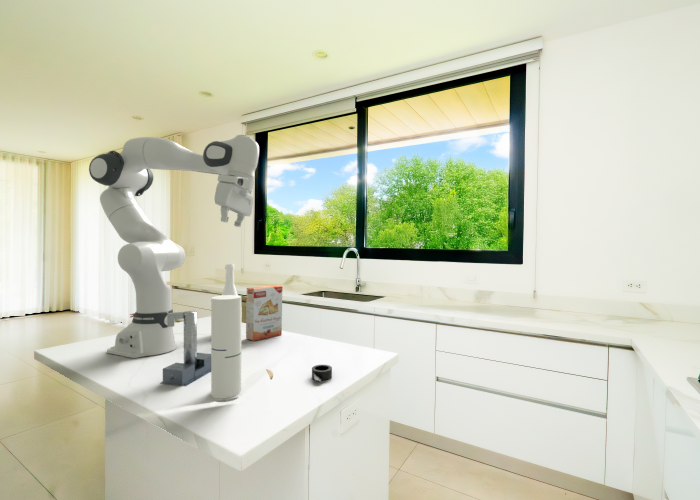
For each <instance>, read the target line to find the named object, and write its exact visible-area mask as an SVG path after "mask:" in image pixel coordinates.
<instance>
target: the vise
mask: <svg viewBox="0 0 700 500" xmlns="http://www.w3.org/2000/svg"><path fill="white" fill-rule="evenodd" d="M209 373H211V353H206V352H205V353H204V352H203V353H202V352H197V369H195V364H185V363H184V362H175V363H172V364H170V365H168V366H166V367H164V368H162V381H161V382H159V384H162V385H171V386H178V387H179V386H180V387H181V386H182V387H187V386H188V385H191V384H192V383H194V382H195V381H197V380H199V379H200V378H202V377H204V376H206V375H208V374H209Z"/></svg>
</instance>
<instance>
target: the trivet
mask: <svg viewBox="0 0 700 500" xmlns="http://www.w3.org/2000/svg"><path fill="white" fill-rule="evenodd" d="M265 371H266V372H267V375H268V377H269V379H270V380H272V379H273V378H274V372H273V371H272V370H271V369H267V368H266V369H265Z"/></svg>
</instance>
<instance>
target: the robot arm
mask: <svg viewBox="0 0 700 500" xmlns="http://www.w3.org/2000/svg"><path fill="white" fill-rule="evenodd" d="M259 145H260V144H259V143H258V142H257V141H256V140H254V139H253V138H251V137H250V136H247V135H245V134H237V135H235V136H234V137H233V138H231V139H228V140H222V141H218V140H216V141H211V142H210V143H208V144H207V145H206V146H205V147H204V150H203V154H201V153H197V152H194V151H192V150H190V149H188V148H186V147H184V146H183V145H180V144H179V143H178V142H176V141H173V140H171V139H168V138H167V139H166V138H163V137H155V136H144V137H143V136H140V137H134V138H131V139H128V140H126V141H125V143H124V144H123V147H122V151H121V152H118V151H116V150H110V151H108V152H106V153H102V154H99V155H97V156H95V157H94V158H92V159H91V161H90V163H89V168H88V171H89V176H90V177H91V179H92V180H93V181H94V182H97V183H98V184H100V185H103V186H106V187H107V188H106V189H105V190H103V191H102V192H101V194H100V197H99V202H100V205H101V207H102V209H103V210H102V211H103V212H104V214H105V216H106V218H107V219H108V221H109V223H111V226H112V227H113V229H114V230H115V231H116V233H117V234H118V236H119V237H120V239H122V240H123V241H125V243H126V244H124V245H123V246H121V248H120V249H119V251H118V253H117V263H118V265H119V266H120V268H121V270H123V271H124V272H125V273H126V274H127V275H128V276H129V277H130V280H131V281H132V283H133V286H134V289H135V291H134V292H135V302H136V304H135V305H136V308H135V309H136V311H135V313H130V314H129V318H132V321H131V323H129V324H128V325H127V326H126V327H124V328H123V329H122V330H120V331H119V332H118V333H117V334H116V336H115V339H114V340H115V343H114V345H113V346H111V347H108V349H107V350H106V353H107V354H112V355H117V356H121V357H125V358H126V357H127V358H132V359H135V358H136V359H137V358H142V357H147V356H149V357H150V356H157V355H162V354H166V353H168V352H172V351H174V350H175V349H177V348H178V347H177V343H176V340H175V336H174V335H175V334H174V326H173V327H167V314H168V313H174V310H173V307H172V306H173V304H172V303H173V302H172V300H173V299H172V295H173V294H172V293H173V292H172V288H171V286H170V285H168V284H167V283H166V282H165V280H164V278H163V274H162V272H170V271H172V270H176V269H177V268H180V267H181V266H182V265H183V264H184V263H185V260H186V251H185V249H184V247H182V246H181V245H180V244H178V243H176V242H174V241H172V240H171V239H170V238H169V237H167V236H166V235H165V234H164V233H163V232H161V231H160V229H158V228H157V227H156V226H155V225H154V223H153V222H152V221H151V219H150V218H149V217H148V216H147V214H146V213H145V211H144V210H143V208H142V207H141V205H140V204H139V203H138V201H137V199H136V197H140V196H142V195H143V194H144V192H146V191H147V190H148V189H150V188H151V186H152V185H153V182H154V174H153V171H152V170H161V171H162V170H163V171H165V170H166V171H185V172H187V171H188V172H197V173H203V174H213V175H218V176H217V182H218V183H217V184H216V188H215V194H214V204H215V205H218V206H220V215H221V216H220V222H223V223H228V222H229V218H230V217H229V215H228V214H229V211H231V212H234V213H235V214H237V215H236V216H237V217H236V220H235V221H234V224H233V225H234V226H235V227H237V228H241V226H242V223H243V221H244V219H245V217H251V215H252V212H253V204H254V197H253V195H252V192H253V189H254V188H253V187H254V182H255V177H256V176H255V172H256V170H257V167H258V165H259V157H260V146H259ZM151 169H152V170H151Z"/></svg>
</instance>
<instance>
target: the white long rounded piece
mask: <svg viewBox="0 0 700 500" xmlns="http://www.w3.org/2000/svg"><path fill="white" fill-rule="evenodd" d="M224 267H225V268H224V269H225V282H224V287H223V290H222V293H221V296H222V295H238V296H239V294H238V292H237V288H236V285H235V263H225V266H224ZM242 311H243V309H242V305H241V332H242V327H243V326H242V318H243V317H242V315H243V314H242Z"/></svg>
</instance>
